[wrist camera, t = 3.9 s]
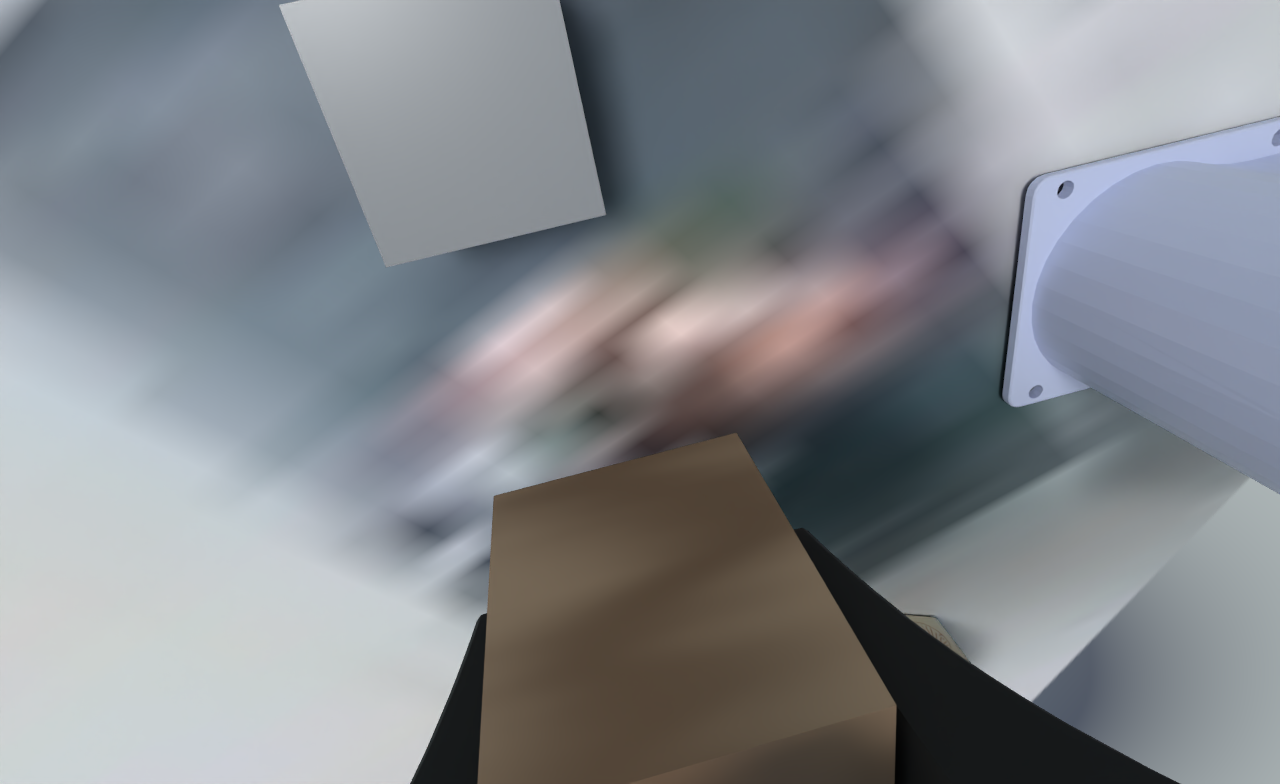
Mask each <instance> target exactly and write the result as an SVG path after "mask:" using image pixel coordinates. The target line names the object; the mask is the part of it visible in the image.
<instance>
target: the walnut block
mask: <svg viewBox="0 0 1280 784" xmlns="http://www.w3.org/2000/svg"><path fill="white" fill-rule="evenodd" d="M896 706H897V705H896V704H895V702H894V700H893V698H892V697H891V695H890V693H889V692H888V690H887V688H886V686H885V685H884V683H883V681H882V680H881V678H880V676H879V675H878V673H877V671H876V669H875V668H874V666H873V664H872V663H871V661H870V659H869V658H868V656H867V654H866V652H865V651H864V649H863V647H862V646H861V644H860V642H859V641H858V639H857V637H856V635H855V634H854V632H853V630H852V629H851V627H850V625H849V624H848V622H847V620H846V618H845V617H844V615H843V613H842V612H841V610H840V608H839V606H838V605H837V603H836V601H835V600H834V598H833V596H832V595H831V593H830V591H829V589H828V588H827V586H826V584H825V583H824V581H823V579H822V578H821V576H820V574H819V572H818V571H817V569H816V567H815V566H814V564H813V562H812V561H811V559H810V557H809V555H808V554H807V552H806V550H805V549H804V547H803V545H802V544H801V542H800V540H799V538H798V537H797V535H796V533H795V532H794V530H793V528H792V526H791V525H790V523H789V521H788V520H787V518H786V516H785V515H784V513H783V511H782V509H781V508H780V506H779V504H778V503H777V501H776V499H775V498H774V496H773V494H772V492H771V491H770V489H769V487H768V486H767V484H766V482H765V481H764V479H763V477H762V475H761V474H760V472H759V470H758V469H757V467H756V465H755V464H754V462H753V460H752V458H751V457H750V455H749V453H748V452H747V450H746V448H745V446H744V445H743V443H742V441H741V440H740V438H739V436H738V435H737V433H733V434H729V435H726V436H722V437H718V438H714V439H710V440H706V441H703V442H699V443H695V444H691V445H687V446H683V447H680V448H676V449H672V450H668V451H664V452H660V453H657V454H653V455H649V456H645V457H641V458H637V459H634V460H630V461H626V462H622V463H618V464H614V465H611V466H607V467H603V468H599V469H595V470H591V471H588V472H584V473H580V474H576V475H572V476H568V477H565V478H561V479H557V480H553V481H549V482H545V483H542V484H538V485H534V486H530V487H526V488H522V489H519V490H515V491H511V492H507V493H503V494H499V495H496V496H494V502H493V520H492V537H491V555H490V573H489V590H488V608H487V625H486V643H485V660H484V678H483V696H482V713H481V731H480V748H479V766H478V783H477V784H895V746H896Z"/></svg>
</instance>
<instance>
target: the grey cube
mask: <svg viewBox="0 0 1280 784" xmlns="http://www.w3.org/2000/svg"><path fill="white" fill-rule="evenodd" d="M279 7H280V9H281V12H282V14H283V16H284V19H285V21H286V24H287V26H288V29H289V31H290V34H291V36H292V38H293V41H294V43H295V46H296V48H297V51H298V53H299V56H300V58H301V60H302V63H303V65H304V68H305V70H306V73H307V75H308V78H309V80H310V82H311V85H312V87H313V90H314V92H315V95H316V97H317V100H318V102H319V104H320V107H321V109H322V112H323V114H324V117H325V119H326V122H327V124H328V126H329V129H330V131H331V134H332V136H333V139H334V141H335V144H336V146H337V148H338V151H339V153H340V156H341V158H342V161H343V163H344V166H345V168H346V170H347V173H348V175H349V178H350V180H351V183H352V185H353V187H354V190H355V192H356V195H357V197H358V200H359V202H360V205H361V207H362V209H363V212H364V214H365V217H366V219H367V222H368V224H369V227H370V229H371V231H372V234H373V236H374V239H375V241H376V244H377V246H378V249H379V251H380V253H381V256H382V258H383V261H384V263H385V266H386V267H390V266H394V265H398V264H402V263H407V262H411V261H415V260H419V259H423V258H428V257H432V256H436V255H440V254H444V253H448V252H453V251H457V250H461V249H465V248H469V247H474V246H478V245H482V244H486V243H490V242H495V241H499V240H503V239H507V238H511V237H516V236H520V235H524V234H528V233H532V232H536V231H541V230H545V229H549V228H553V227H557V226H562V225H566V224H570V223H574V222H578V221H583V220H587V219H591V218H595V217H599V216H604V215H606V212H605V207H604V203H603V198H602V194H601V189H600V184H599V180H598V175H597V171H596V166H595V161H594V157H593V152H592V148H591V143H590V138H589V134H588V129H587V125H586V120H585V115H584V111H583V106H582V102H581V97H580V92H579V88H578V83H577V79H576V74H575V69H574V65H573V60H572V56H571V51H570V46H569V42H568V37H567V33H566V28H565V23H564V19H563V14H562V10H561V5H560V0H301V1H296V2H291V3H287V4H282V5H279Z"/></svg>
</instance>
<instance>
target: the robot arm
mask: <svg viewBox="0 0 1280 784" xmlns="http://www.w3.org/2000/svg"><path fill="white" fill-rule="evenodd" d="M1062 183H1064V186H1063V189H1062V191H1061V192H1060V193H1059V194H1058V195H1057V191H1058V188H1059V186H1060V185H1061V184H1062ZM1033 387H1034V388H1033ZM1032 388H1033V389H1032ZM1088 388H1093V389H1094V390H1096V391H1098V392H1100V393H1102V394H1103V395H1105V396H1107V397H1109V398H1110V399H1112V400H1114V401H1116V402H1117V403H1119V404H1121V405H1123V406H1125V407H1126V408H1128V409H1130V410H1132V411H1133V412H1135V413H1137V414H1139V415H1140V416H1142V417H1144V418H1146V419H1148V420H1149V421H1151V422H1153V423H1155V424H1156V425H1158V426H1160V427H1162V428H1163V429H1165V430H1167V431H1169V432H1170V433H1172V434H1174V435H1176V436H1178V437H1179V438H1181V439H1183V440H1185V441H1186V442H1188V443H1190V444H1192V445H1193V446H1195V447H1197V448H1199V449H1201V450H1202V451H1204V452H1206V453H1208V454H1209V455H1211V456H1213V457H1215V458H1216V459H1218V460H1220V461H1222V462H1223V463H1225V464H1227V465H1229V466H1231V467H1232V468H1234V469H1236V470H1238V471H1239V472H1241V473H1243V474H1245V475H1246V476H1248V477H1250V478H1252V479H1254V480H1255V481H1257V482H1259V483H1261V484H1262V485H1264V486H1266V487H1268V488H1269V489H1271V490H1273V491H1275V492H1277V493H1279V494H1280V117H1277V118H1273V119H1269V120H1265V121H1261V122H1257V123H1252V124H1248V125H1244V126H1240V127H1236V128H1232V129H1228V130H1224V131H1220V132H1215V133H1211V134H1207V135H1203V136H1199V137H1195V138H1191V139H1187V140H1183V141H1179V142H1174V143H1170V144H1166V145H1162V146H1158V147H1154V148H1150V149H1146V150H1142V151H1138V152H1133V153H1129V154H1125V155H1121V156H1117V157H1113V158H1109V159H1105V160H1101V161H1097V162H1092V163H1088V164H1084V165H1080V166H1076V167H1072V168H1068V169H1064V170H1060V171H1056V172H1051V173H1047V174H1043V175H1041V176H1039V177H1037V178H1036V179H1035V180H1034V181H1032V183H1031V184H1030V186H1029V187H1028V189H1027V193H1026V197H1025V206H1024V214H1023V223H1022V231H1021V240H1020V248H1019V257H1018V266H1017V274H1016V283H1015V291H1014V300H1013V308H1012V317H1011V325H1010V334H1009V342H1008V351H1007V359H1006V368H1005V377H1004V385H1003V394H1002V395H1003V399H1004V401H1005V402H1007V403H1008V404H1009V405H1011V406H1013V407H1021V406H1024V405H1028V404H1032V403H1036V402H1039V401H1043V400H1047V399H1050V398H1054V397H1058V396H1062V395H1065V394H1069V393H1073V392H1077V391H1080V390H1084V389H1088ZM1031 389H1032V390H1031ZM1030 390H1031V391H1030ZM794 532H795V533H796V535H797V537H798V538H799V540H800V542H801V544H802V545H803V547H804V549H805V550H806V552H807V554H808V555H809V557H810V559H811V561H812V562H813V564H814V566H815V567H816V569H817V571H818V572H819V574H820V576H821V578H822V579H823V581H824V583H825V584H826V586H827V588H828V589H829V591H830V593H831V595H832V596H833V598H834V600H835V601H836V603H837V605H838V606H839V608H840V610H841V612H842V613H843V615H844V617H845V618H846V620H847V622H848V624H849V625H850V627H851V629H852V630H853V632H854V634H855V635H856V637H857V639H858V641H859V642H860V644H861V646H862V647H863V649H864V651H865V652H866V654H867V656H868V658H869V659H870V661H871V663H872V664H873V666H874V668H875V669H876V671H877V673H878V675H879V676H880V678H881V680H882V681H883V683H884V685H885V686H886V688H887V690H888V692H889V693H890V695H891V697H892V698H893V700H894V702H895V704H896V705H897V706H896V746H895V784H1180V783H1178V782H1176V781H1174V780H1172V779H1170V778H1168V777H1166V776H1164V775H1162V774H1159V773H1158V772H1155V771H1154V770H1152V769H1150V768H1148V767H1146V766H1144V765H1142V764H1141V763H1139V762H1137V761H1135V760H1133V759H1131V758H1129V757H1128V756H1126V755H1124V754H1122V753H1120V752H1118V751H1117V750H1114V749H1113V748H1111V747H1109V746H1107V745H1106V744H1104V743H1102V742H1100V741H1098V740H1096V739H1095V738H1093V737H1091V736H1089V735H1087V734H1085V733H1083V732H1082V731H1080V730H1078V729H1076V728H1074V727H1073V726H1071V725H1069V724H1067V723H1065V722H1064V721H1062V720H1060V719H1059V718H1057V717H1055V716H1053V715H1052V714H1050V713H1049V712H1047V711H1045V710H1044V709H1042V708H1040V707H1039V706H1037V705H1035V704H1034V703H1032V702H1030V701H1029V700H1027V699H1025V698H1024V697H1022V696H1020V695H1019V694H1017V693H1016V692H1014V691H1013V690H1011V689H1009V688H1008V687H1006V686H1005V685H1003V684H1002V683H1000V682H999V681H997V680H995V679H994V678H992V677H991V676H989V675H988V674H986V673H985V672H983V671H982V670H980V669H979V668H977V667H976V666H974V665H973V664H971V663H970V662H968V661H967V660H966V659H964V658H963V657H961V656H960V655H958V654H957V653H955V652H954V651H953V650H951V649H950V648H949V647H947V646H946V645H944V644H943V643H942V642H940V641H939V640H938V639H936V638H935V637H933V636H932V635H931V634H929V633H928V632H927V631H925V630H924V629H923V628H921V627H920V626H919V625H917V624H916V623H915V622H913V621H912V620H911V619H909V618H908V617H907V616H906V615H904V614H903V613H902V612H901V611H899V610H898V609H897V608H896V607H894V606H893V605H892V604H891V603H889V602H888V601H887V600H886V599H884V598H883V597H882V596H881V595H879V594H878V593H877V592H876V591H874V590H873V589H872V588H871V587H870V586H869V585H867V584H866V583H865V582H864V581H863V580H861V579H860V578H859V577H858V576H857V575H856V574H855V573H853V572H852V571H851V570H850V569H849V568H848V567H846V566H845V565H844V564H843V563H842V562H841V561H840V560H839V559H838V558H836V557H835V556H834V555H833V554H832V553H831V552H830V551H829V550H828V549H827V548H826V547H824V546H823V545H822V544H821V543H820V542H819V541H818V540H817V539H816V538H815V537H814V536H813V535H812V534H811V533H810V532H809V531H807V530H805V529H804V528H799V529H795V530H794ZM486 625H487V613H486V614H483V615H481V616H480V618H479V619H478V620H477V622H476V625H475V628H474V631H473V634H472V637H471V640H470V643H469V645H468V648H467V651H466V654H465V656H464V659H463V662H462V664H461V667H460V670H459V672H458V675H457V677H456V680H455V683H454V685H453V688H452V690H451V693H450V695H449V698H448V700H447V702H446V705H445V707H444V710H443V712H442V714H441V717H440V719H439V721H438V724H437V726H436V728H435V731H434V733H433V736H432V738H431V740H430V743H429V745H428V747H427V749H426V751H425V754H424V756H423V758H422V760H421V762H420V764H419V766H418V768H417V770H416V773H415V775H414V777H413V779H412V781H411V783H410V784H477V783H478V766H479V748H480V731H481V713H482V696H483V678H484V660H485V643H486Z"/></svg>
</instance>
